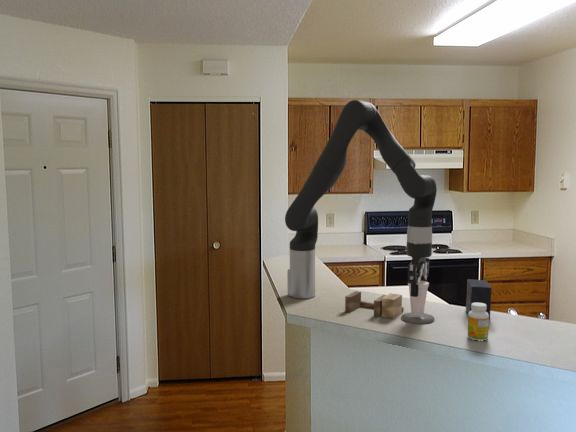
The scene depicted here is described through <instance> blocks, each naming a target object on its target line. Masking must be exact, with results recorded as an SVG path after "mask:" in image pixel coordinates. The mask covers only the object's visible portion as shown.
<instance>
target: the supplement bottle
mask: <svg viewBox="0 0 576 432" xmlns="http://www.w3.org/2000/svg"><path fill="white" fill-rule="evenodd" d="M471 309H472V310H471V311H470V312H469V313H468V314H467V318H468V319H467V338H468V339H469V338H470V339H469V340H471V339H472V341H474V340H486V339H487V340H489V321H490V320H489V314H488V313H487V312H486V309H487V305H486V304H484V303H478V302H476V303H472V304H471ZM487 340H486V341H487Z"/></svg>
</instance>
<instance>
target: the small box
mask: <svg viewBox="0 0 576 432" xmlns="http://www.w3.org/2000/svg"><path fill="white" fill-rule="evenodd" d="M465 301H466V302H465V303H466V304H465V311H466V313H467V315H468V313H469V312H470V311H471V310H472V309H471V304H472V303H476V302H478V303H484V304H486V305H487V309H486V312H487V313H488V314H489V321H490V320H491V306H492V286H491V285H490V284H489V282H488V281H487V280H485V279H484V280H483V279H470V278H468V279H466V300H465Z"/></svg>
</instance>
